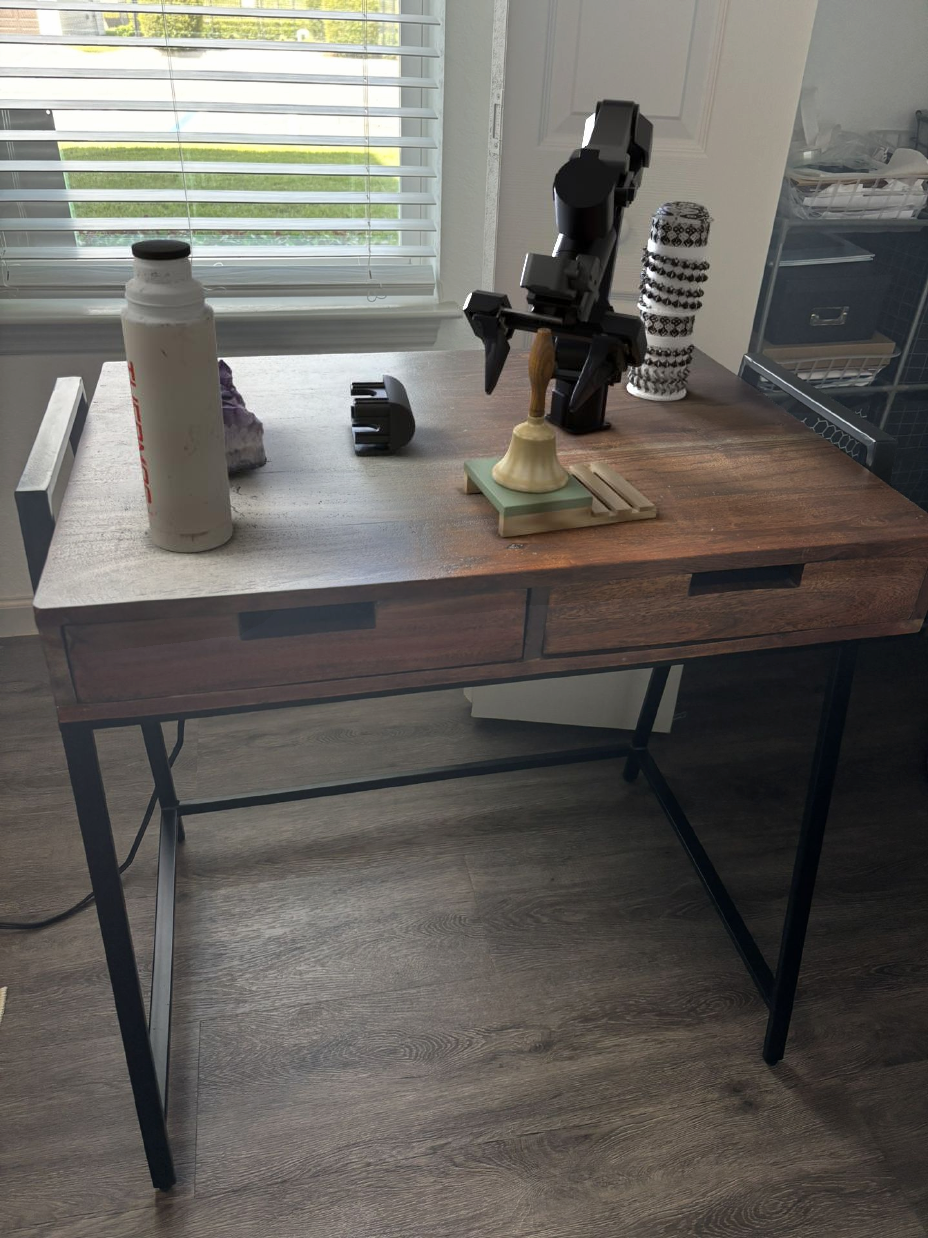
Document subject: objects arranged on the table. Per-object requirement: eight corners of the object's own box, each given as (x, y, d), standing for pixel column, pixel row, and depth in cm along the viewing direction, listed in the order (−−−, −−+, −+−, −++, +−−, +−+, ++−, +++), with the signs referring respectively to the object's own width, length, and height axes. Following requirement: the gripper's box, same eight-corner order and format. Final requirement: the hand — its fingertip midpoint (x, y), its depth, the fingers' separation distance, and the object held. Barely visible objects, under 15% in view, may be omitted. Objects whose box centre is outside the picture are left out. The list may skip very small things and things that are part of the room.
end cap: (415, 456, 119) (416, 402, 116) (355, 457, 118) (354, 403, 115) (406, 425, 128) (407, 373, 124) (350, 426, 127) (350, 374, 123)
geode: (148, 426, 124) (149, 345, 119) (243, 430, 128) (247, 352, 123) (161, 488, 107) (163, 397, 103) (269, 490, 112) (275, 403, 107)
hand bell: (577, 469, 110) (593, 323, 101) (556, 499, 103) (572, 346, 94) (505, 456, 112) (515, 312, 103) (480, 484, 105) (489, 333, 97)
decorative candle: (610, 386, 144) (633, 200, 130) (655, 375, 149) (682, 195, 135) (656, 406, 138) (685, 213, 124) (701, 394, 143) (734, 208, 129)
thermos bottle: (144, 553, 97) (101, 252, 82) (158, 515, 103) (121, 231, 89) (228, 552, 98) (200, 254, 83) (237, 516, 104) (213, 234, 89)
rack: (606, 472, 118) (609, 445, 116) (656, 517, 108) (660, 487, 107) (462, 489, 112) (464, 460, 110) (502, 537, 103) (504, 506, 101)
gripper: (475, 206, 100) (422, 344, 97) (656, 230, 93) (605, 379, 91) (501, 272, 110) (454, 398, 107) (666, 297, 104) (620, 432, 101)
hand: (528, 401), depth 101 cm, fingers open, 9 cm apart
